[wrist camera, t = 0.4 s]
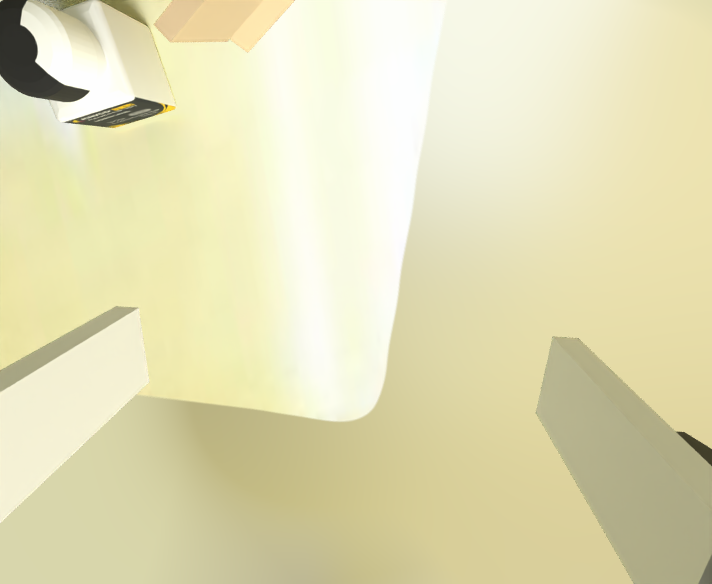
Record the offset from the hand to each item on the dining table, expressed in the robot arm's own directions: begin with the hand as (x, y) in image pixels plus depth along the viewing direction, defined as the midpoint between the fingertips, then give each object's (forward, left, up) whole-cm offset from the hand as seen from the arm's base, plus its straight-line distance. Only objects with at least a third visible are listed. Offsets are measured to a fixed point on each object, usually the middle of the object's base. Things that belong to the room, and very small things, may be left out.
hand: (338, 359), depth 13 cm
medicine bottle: (-25, -9, -29) cm, 39 cm away
